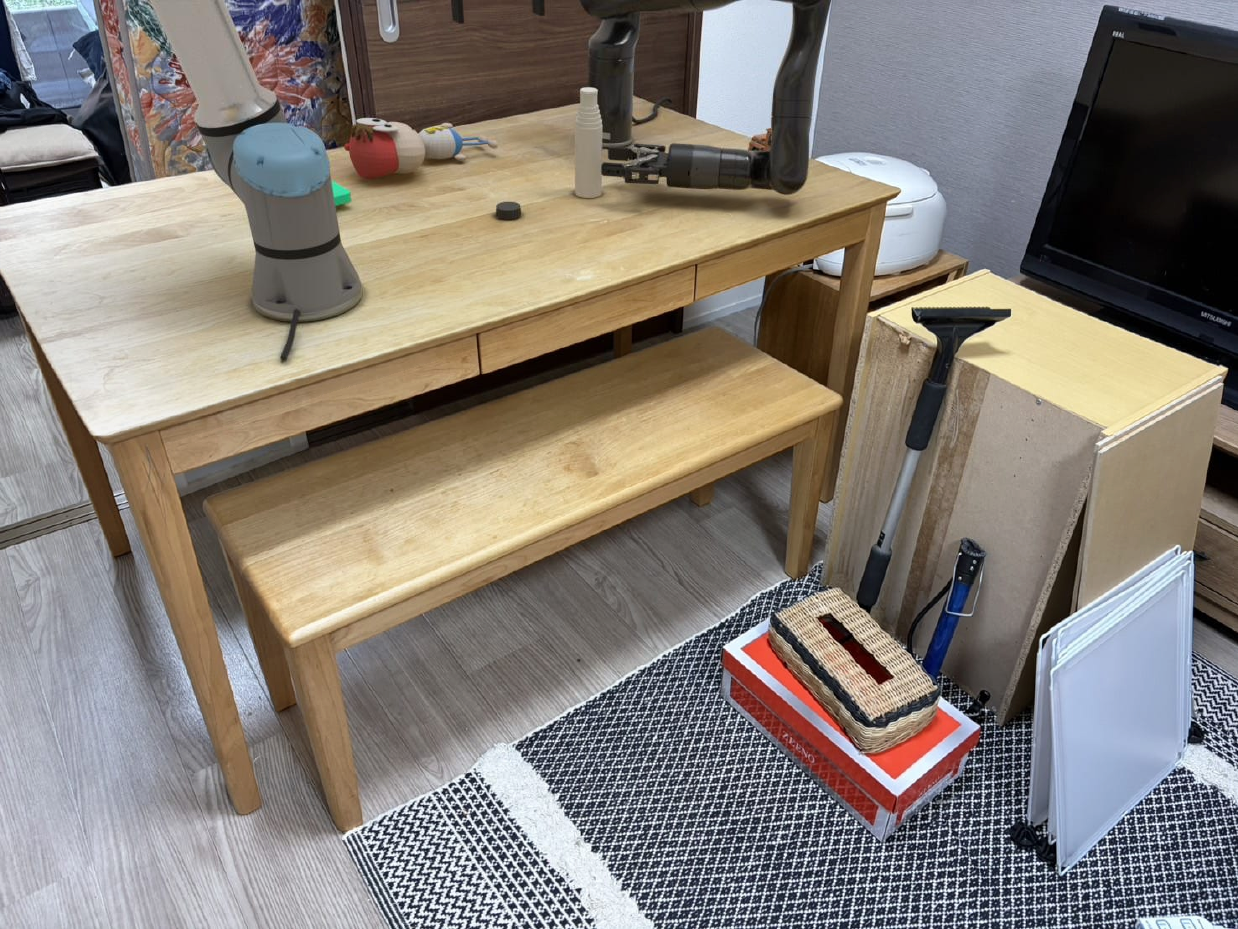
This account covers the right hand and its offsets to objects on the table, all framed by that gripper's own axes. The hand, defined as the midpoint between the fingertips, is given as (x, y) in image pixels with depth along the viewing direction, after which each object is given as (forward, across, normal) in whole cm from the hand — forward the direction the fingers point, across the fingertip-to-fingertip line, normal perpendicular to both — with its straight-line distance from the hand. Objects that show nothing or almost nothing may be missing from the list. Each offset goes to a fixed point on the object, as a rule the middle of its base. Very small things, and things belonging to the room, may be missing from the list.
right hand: (604, 160), depth 167 cm
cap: (+15, +13, +5) cm, 20 cm away
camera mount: (+49, +14, +6) cm, 52 cm away
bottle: (+3, 0, +6) cm, 7 cm away
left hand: (+15, +13, -26) cm, 32 cm away
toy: (+37, -9, +6) cm, 38 cm away
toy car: (-31, -23, +6) cm, 40 cm away
